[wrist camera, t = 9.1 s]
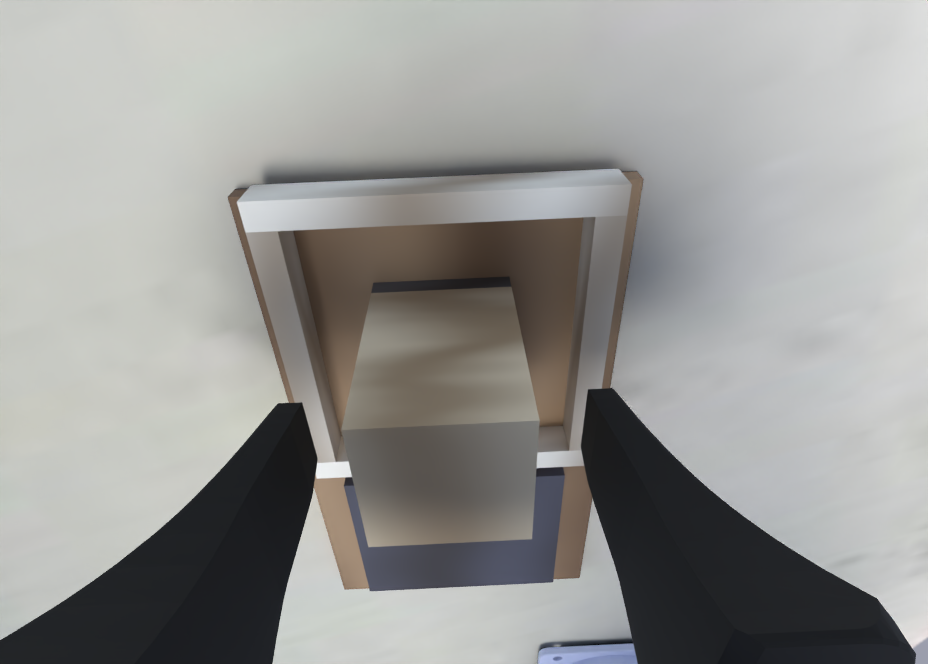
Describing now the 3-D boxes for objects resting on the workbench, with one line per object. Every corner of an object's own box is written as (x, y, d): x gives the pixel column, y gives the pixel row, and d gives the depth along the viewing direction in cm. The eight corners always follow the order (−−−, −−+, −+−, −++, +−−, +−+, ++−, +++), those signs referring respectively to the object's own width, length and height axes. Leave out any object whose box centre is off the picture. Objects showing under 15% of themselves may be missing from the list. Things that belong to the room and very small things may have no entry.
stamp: (509, 276, 16) (539, 420, 11) (507, 380, 18) (531, 539, 13) (373, 282, 16) (340, 429, 11) (388, 386, 18) (368, 547, 13)
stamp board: (638, 160, 14) (660, 183, 13) (576, 565, 25) (585, 603, 24) (232, 178, 14) (207, 203, 13) (346, 577, 25) (340, 615, 24)
